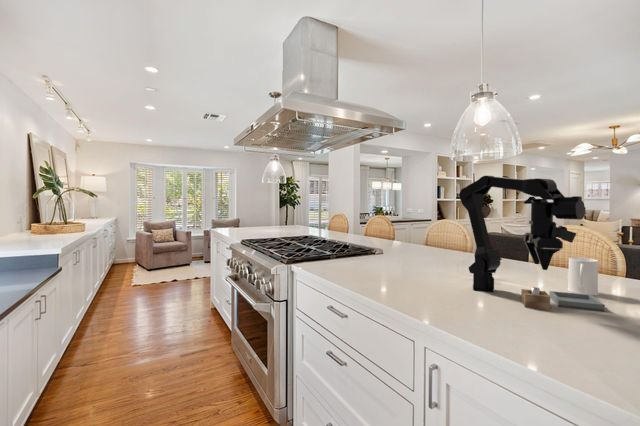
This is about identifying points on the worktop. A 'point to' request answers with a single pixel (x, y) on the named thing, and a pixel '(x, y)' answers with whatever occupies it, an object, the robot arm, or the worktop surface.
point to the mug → (583, 276)
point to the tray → (576, 301)
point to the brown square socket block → (535, 299)
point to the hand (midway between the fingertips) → (540, 266)
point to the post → (535, 290)
